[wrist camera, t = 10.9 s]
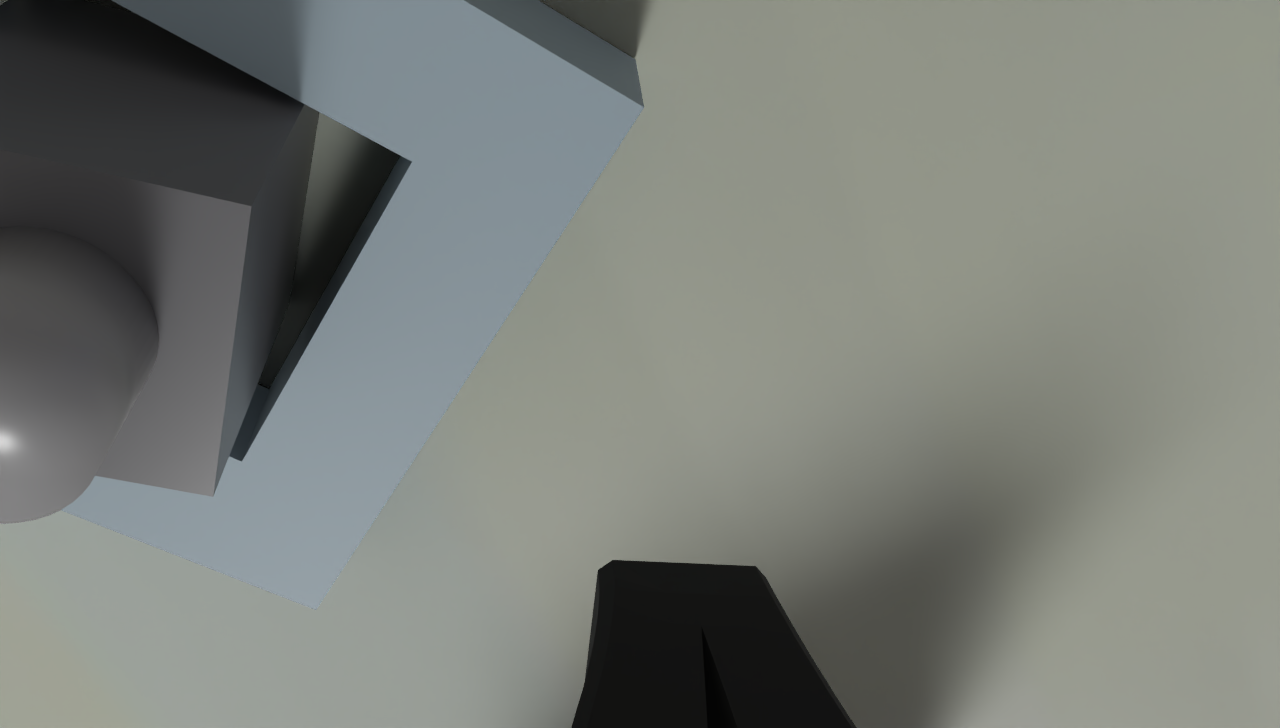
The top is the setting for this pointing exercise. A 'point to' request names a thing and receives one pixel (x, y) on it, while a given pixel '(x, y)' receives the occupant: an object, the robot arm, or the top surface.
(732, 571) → the robot arm
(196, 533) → the socket plate
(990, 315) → the top surface
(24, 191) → the plug
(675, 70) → the top surface
